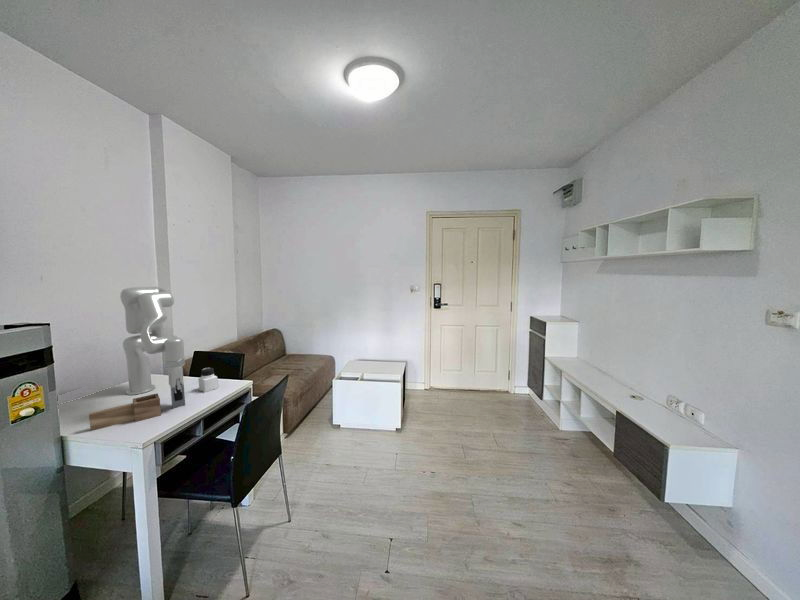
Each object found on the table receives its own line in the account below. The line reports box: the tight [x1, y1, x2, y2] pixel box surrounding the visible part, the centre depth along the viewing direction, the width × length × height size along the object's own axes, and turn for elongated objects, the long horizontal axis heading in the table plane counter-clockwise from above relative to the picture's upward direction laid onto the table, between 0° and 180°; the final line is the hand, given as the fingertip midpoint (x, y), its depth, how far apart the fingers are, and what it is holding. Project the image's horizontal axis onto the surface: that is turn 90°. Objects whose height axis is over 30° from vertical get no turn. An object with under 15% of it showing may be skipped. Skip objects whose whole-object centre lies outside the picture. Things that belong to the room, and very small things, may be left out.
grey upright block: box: [169, 381, 186, 409], centre depth 148 cm, size 3×5×12 cm, turn 135°
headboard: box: [88, 392, 162, 432], centre depth 134 cm, size 9×23×8 cm, turn 134°
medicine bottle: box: [198, 367, 219, 393], centre depth 170 cm, size 7×7×12 cm
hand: (178, 398), depth 148 cm, fingers closed on grey upright block, 3 cm apart
